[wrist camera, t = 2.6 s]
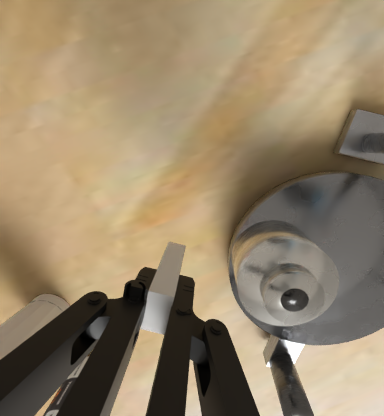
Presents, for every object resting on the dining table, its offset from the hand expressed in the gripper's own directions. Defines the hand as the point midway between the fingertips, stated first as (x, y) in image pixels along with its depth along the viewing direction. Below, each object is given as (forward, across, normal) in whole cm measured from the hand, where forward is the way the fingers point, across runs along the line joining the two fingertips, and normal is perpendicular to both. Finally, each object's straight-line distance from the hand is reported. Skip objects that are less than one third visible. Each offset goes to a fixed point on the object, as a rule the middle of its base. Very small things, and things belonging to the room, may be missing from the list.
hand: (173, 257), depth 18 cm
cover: (+4, +10, 0) cm, 10 cm away
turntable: (+6, +16, -2) cm, 17 cm away
